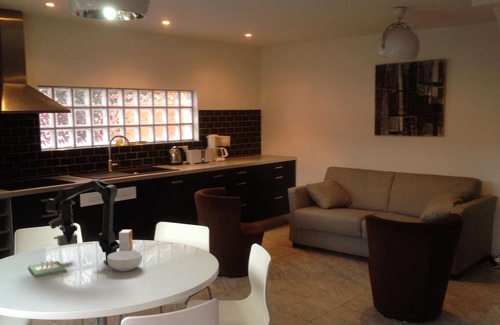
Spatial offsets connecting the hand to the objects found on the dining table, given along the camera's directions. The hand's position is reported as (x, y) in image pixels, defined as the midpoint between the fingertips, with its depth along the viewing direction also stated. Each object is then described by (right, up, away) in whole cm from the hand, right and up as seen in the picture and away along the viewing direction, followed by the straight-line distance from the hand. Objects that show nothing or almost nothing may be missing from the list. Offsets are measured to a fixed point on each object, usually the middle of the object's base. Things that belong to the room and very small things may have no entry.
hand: (67, 241), depth 259 cm
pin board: (-4, -11, -16) cm, 20 cm away
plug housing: (0, -1, 0) cm, 1 cm away
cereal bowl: (+34, -11, -16) cm, 39 cm away
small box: (+26, -8, +20) cm, 34 cm away
